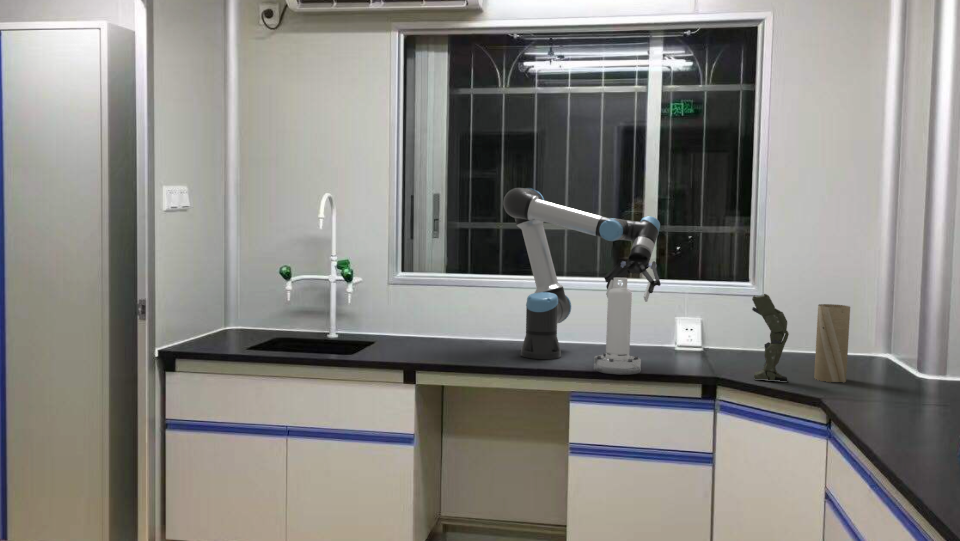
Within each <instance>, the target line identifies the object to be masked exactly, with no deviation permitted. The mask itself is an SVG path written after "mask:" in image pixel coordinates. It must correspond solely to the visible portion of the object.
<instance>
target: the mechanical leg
mask: <svg viewBox="0 0 960 541" xmlns="http://www.w3.org/2000/svg"><path fill="white" fill-rule="evenodd" d="M751 299H752V302H753V304H754V306H755V307H754V306H753V307H752V308H751V310H752V312H754V313H756V314H758V315H760V316H761V317H762V318H763V320H764V322H765V323H766V325H767V328H769V329H768V330H770V332H769V339H770V341H769V342H766V343H765V344H764V358H765V362H764V364H763V368H762V369H761V370H758V371H755V372H753V378H755V379H768V380H780V381H787V380H788V377H787V376H785V375H782V373H779V372H778V371H777V370H776V369H777V368H776V366H777V365H778V363H779V362H780V360H781V356H782V354H783V351H784V348H785V345H786V343H787V341H788V339H789V335H790V333H789V331H788V320H787V318H786V315H785V314H784V312H783V311H781V310H779V309H777V308H776V306H775V304H774V302H773V301H772V298H771V297H770V295H769V294H767V293H763V295H759V296H758V295H753V296H752V298H751ZM755 379H754V380H755Z"/></svg>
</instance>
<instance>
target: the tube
mask: <svg viewBox="0 0 960 541" xmlns="http://www.w3.org/2000/svg"><path fill="white" fill-rule="evenodd" d="M816 317H817V320H816V336H815V337H816V338H815V339H816V340H815V354H814V355H815V359H814V377H813V379H814V378H815V379H814V380H816V379H817V380H816V381H819V380H820V381H819V382H823V381H826V383H831V382H843V383H846V382H847V372H848V371H847V370H848V351H849V339H850V338H849V336H850V321H851V320H850V319H851V318H850V317H851V306H850V305H845V304H844V305H843V304H832V303H821V304H818V305H817V316H816Z"/></svg>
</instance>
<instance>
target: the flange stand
mask: <svg viewBox="0 0 960 541" xmlns="http://www.w3.org/2000/svg"><path fill="white" fill-rule="evenodd" d="M593 357H594V358H593V359H594V360H593V361H594V362H593V370H594V371H596V372H599V373H603V374H609V375H622V376H623V375H637V374H639V373H641V370H642V368H641V367H642V366H641V365H642V359H641V358H640V357H639V356H638V355H634V356H632V355H629V359H628V360H614V359H606V352H603V353H602V354H599V355H595V356H593Z"/></svg>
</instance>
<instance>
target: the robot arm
mask: <svg viewBox="0 0 960 541" xmlns="http://www.w3.org/2000/svg"><path fill="white" fill-rule="evenodd" d="M502 203H503V205H502V206H503V208H504V209H503V210H504V211H505V213H506V214H507V215H508V216H510V217H512V218H514V220H515V225H516V227H518V228H519V229H520V230H521V232H522V236H523V239H524V240H523V241H524V245H525V248H526V251H527V255H528V259H529V260H528V261H529V264H530V267H531V271H532V272H531V273H532V274H533V279H534V284H535V287H536V289H535V291H534V293H531V294H529V295H527V298H526V304H525V306H526V308H525V309H526V311H525V313H526V314H525V336H524V339H523V343H522V346H521V349H520V356H521V357H522V358H526V359H535V360H556V359H560V358H561V357H562V349H561V347H560V342H559V340H558V324H560V323H562V322H565V320H566V319H567V318H569V316H570V315H571V311H572V302H571V300H570V298H569V297H568V295H566V293H565V290H564V286H563V285H562V284H560V283H559V281H558V276H557V274H556V270H555V265H554V263H553V259H552V255H551V250H550V246H549V243H548V239H547V238H548V237H547V234H546V230H545V228H544V227H545V226H544V223H547V224H551V225H555V226H559V227H562V228H565V229H568V230H572V231H577V232H580V233H583V234H586V235H591V236H593V237H594V236H595V237H598V238H601V239H603V240H605V241H609V242H615V241H630V242H633V243H632V246H631V250H630V253H629V255H628V258H627V259H626V260H627V261H624V260H623V259H619V260H618V261H617V262H616V264H615V265H614V266H613V267H612V268H611V269H610V270H609V271H608V272H607V273H606V274H605V275H604V276H603V278H604V280H605V283H606V293H605V295H606V297H607V299H608V292H609V290H610V289H612V288H613V280H614V278H616V277H619V278H624V277H625V276H626V275H627V276H628V275H630V274H632V275H633V274H638V275H640V274H642V275H643V276H644V277H645V279H646V280H647V284H646V288H645V292H644V295H643V300H644V302H648V301H649V297H650V294H652V293H654V289H655V287H657V286H658V287H660V286H661V280H660V277H659V275H658V270H657V269H658V268H657V267H658V265H657V262H656V260H655V261H654V260H653V261H652V262H650V261H651V258H652V254H653V251H654V249H655V245H656V242H657V240H658V236H659V234H660V233H659V232H660V227H661V223H660V221H659V220H658V219H657V218H656V217H654V216H651V215H648V216H643V217H642V218H641V220H640V221H639V220H638V221H636V220H628V219H621V218H614V217H613V218H612V217H606V216H602V215H599V214H594V213H590V212H587V211H583V210H579V209H576V208H572V207H568V206H565V205H561V204H557V203H554V202H550V201H547V200H545V198H544V196H543V195H542V194H541V192H540V191H538V190H536V189H534V188H531V187H525V188H523V187H515V188H512V189H510V190H509V191H508V192H506V194H505V196H504V197H503V202H502ZM648 268H650V269H651V270H652V272H653V275H654V278H653V277H652V276H651V274H650V273H649V272H648V270H647V269H648Z"/></svg>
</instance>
